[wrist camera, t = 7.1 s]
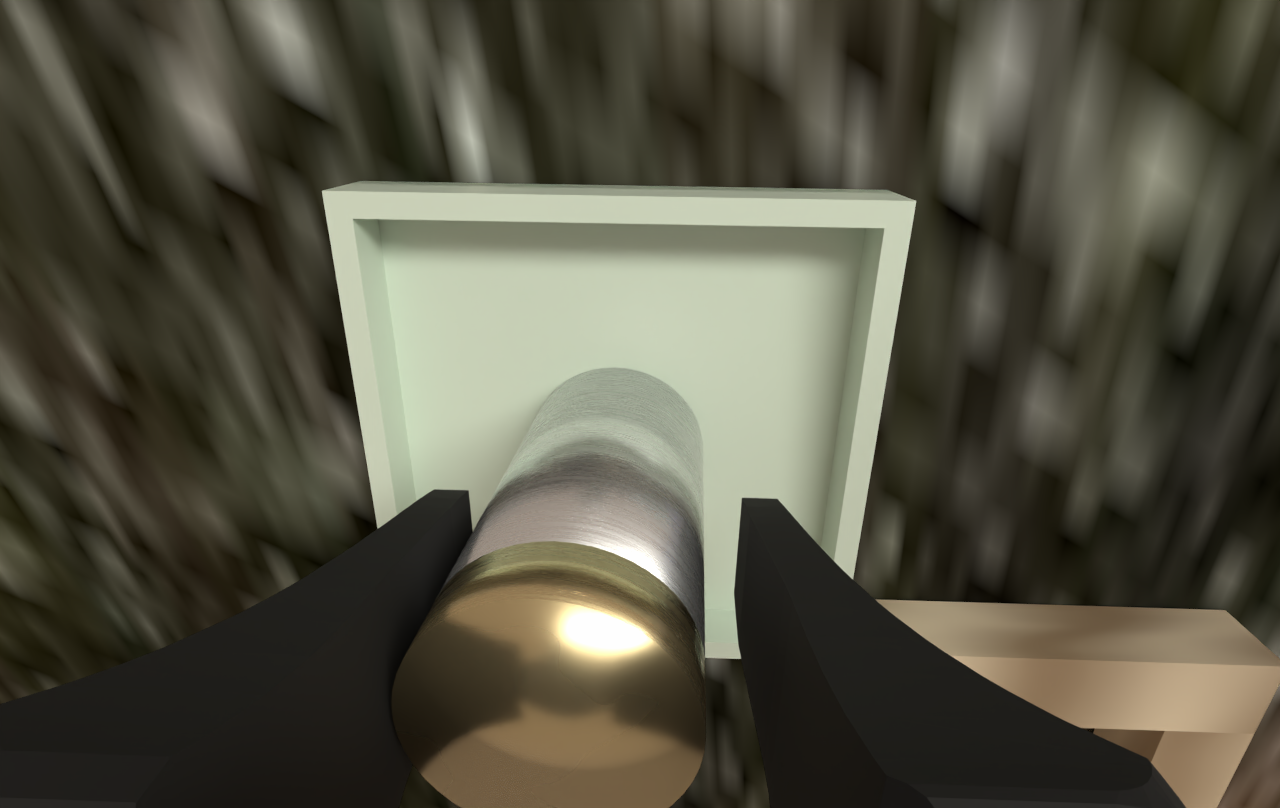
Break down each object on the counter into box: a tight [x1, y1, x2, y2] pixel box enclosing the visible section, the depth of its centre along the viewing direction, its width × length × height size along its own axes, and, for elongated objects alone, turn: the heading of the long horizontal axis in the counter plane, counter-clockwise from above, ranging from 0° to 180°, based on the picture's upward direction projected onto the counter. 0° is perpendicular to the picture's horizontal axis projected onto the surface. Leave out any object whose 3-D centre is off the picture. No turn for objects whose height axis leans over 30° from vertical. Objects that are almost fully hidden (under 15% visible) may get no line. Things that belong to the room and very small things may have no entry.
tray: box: [322, 181, 916, 659], centre depth 16 cm, size 11×11×2 cm
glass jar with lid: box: [391, 367, 706, 808], centre depth 12 cm, size 4×4×8 cm
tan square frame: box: [875, 599, 1280, 808], centre depth 19 cm, size 10×10×2 cm
